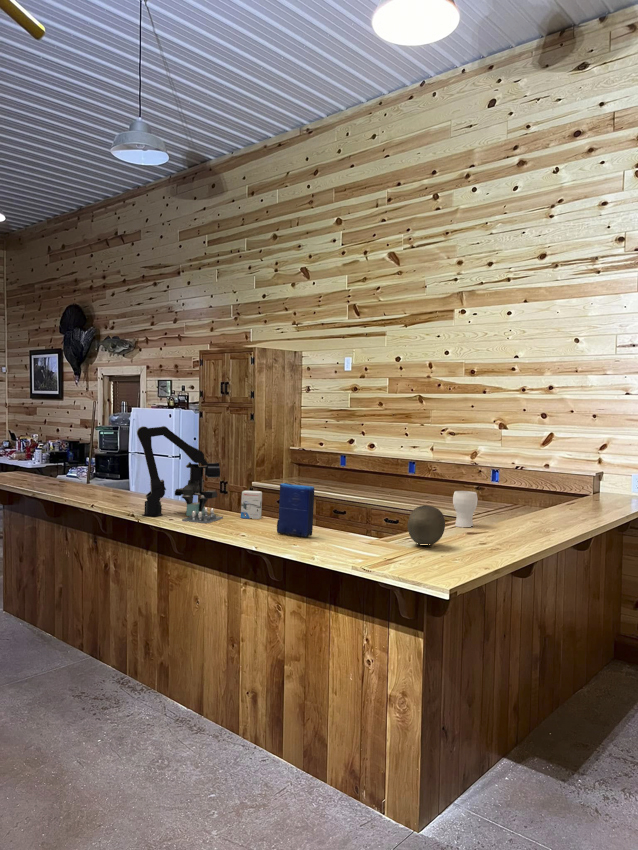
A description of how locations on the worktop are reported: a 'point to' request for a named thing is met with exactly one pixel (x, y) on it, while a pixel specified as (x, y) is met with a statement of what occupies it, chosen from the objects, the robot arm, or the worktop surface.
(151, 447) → the robot arm
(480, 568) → the worktop surface
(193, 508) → the block
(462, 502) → the cup
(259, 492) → the ink box
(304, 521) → the book
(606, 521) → the worktop surface
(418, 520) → the dark grey sphere
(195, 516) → the metal plate device
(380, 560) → the worktop surface
